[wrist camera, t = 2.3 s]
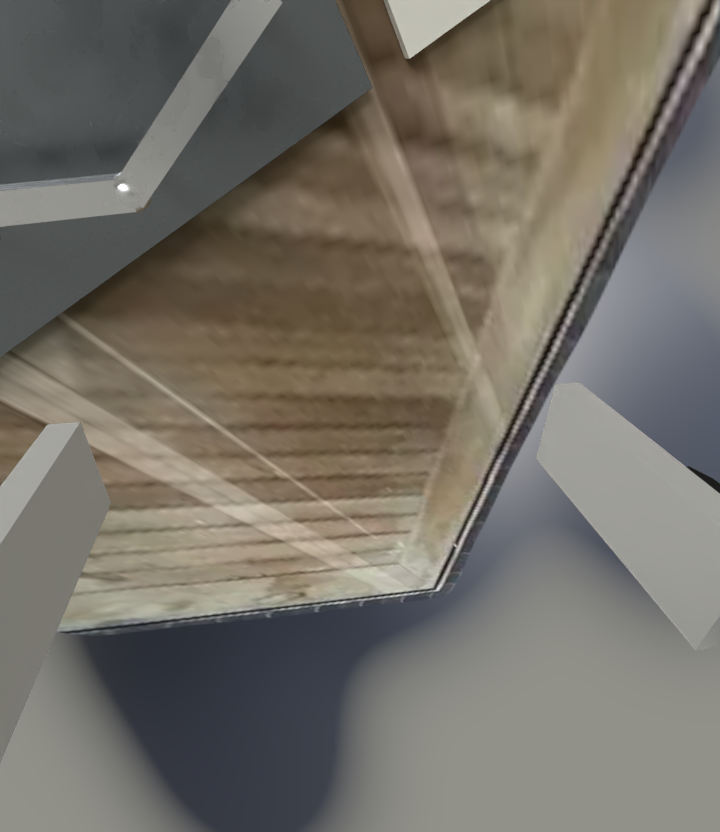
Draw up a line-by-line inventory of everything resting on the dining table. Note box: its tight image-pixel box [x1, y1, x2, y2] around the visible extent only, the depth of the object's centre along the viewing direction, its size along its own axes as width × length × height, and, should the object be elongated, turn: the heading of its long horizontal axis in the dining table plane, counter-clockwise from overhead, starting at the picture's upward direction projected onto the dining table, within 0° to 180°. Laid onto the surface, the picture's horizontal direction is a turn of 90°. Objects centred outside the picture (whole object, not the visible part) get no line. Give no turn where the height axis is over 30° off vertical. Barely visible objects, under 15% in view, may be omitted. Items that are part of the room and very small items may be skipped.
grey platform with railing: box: [0, 0, 372, 357], centre depth 26 cm, size 14×42×10 cm, turn 119°
